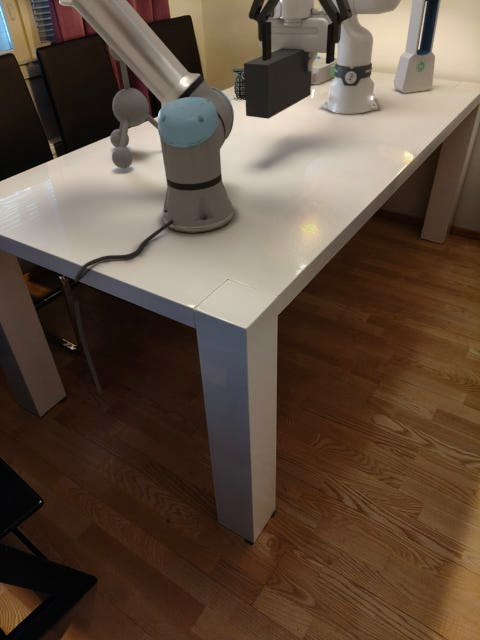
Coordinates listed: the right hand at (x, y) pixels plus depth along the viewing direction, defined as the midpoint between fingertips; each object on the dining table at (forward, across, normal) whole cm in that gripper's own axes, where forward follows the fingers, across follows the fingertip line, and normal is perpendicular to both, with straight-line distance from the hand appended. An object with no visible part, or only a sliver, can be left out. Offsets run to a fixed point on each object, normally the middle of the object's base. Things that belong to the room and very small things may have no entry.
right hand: (295, 69), depth 130 cm
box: (+7, 0, +9) cm, 11 cm away
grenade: (+21, +43, -40) cm, 62 cm away
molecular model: (+20, +35, +25) cm, 47 cm away
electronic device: (+21, -12, -74) cm, 78 cm away
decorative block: (+21, +32, -79) cm, 88 cm away
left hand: (-9, -16, +30) cm, 35 cm away
